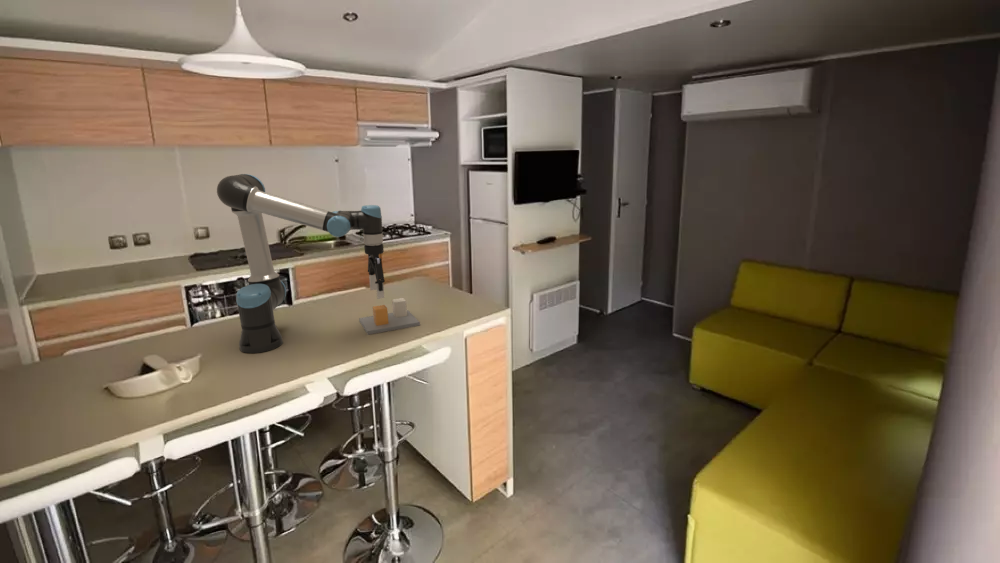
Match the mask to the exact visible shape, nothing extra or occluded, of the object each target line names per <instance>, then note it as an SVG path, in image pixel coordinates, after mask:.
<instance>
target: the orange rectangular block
mask: <svg viewBox="0 0 1000 563" xmlns="http://www.w3.org/2000/svg"><path fill="white" fill-rule="evenodd" d="M372 314H373V315H372V316H374V323H375V324H376V326H378V325H384V324H389V323H388V307H387V306H386V305H385V304H381V305H375V306H372Z"/></svg>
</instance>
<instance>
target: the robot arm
mask: <svg viewBox="0 0 1000 563" xmlns="http://www.w3.org/2000/svg"><path fill="white" fill-rule="evenodd" d="M216 193H217V198H218V199H219V200H220V202H221V203H222V204H224V205H225V206H227V207H229V208H230V209H231V212H232V213H233V214H234V215H236V217H237V220H238V225H239V228H240V232H241V233H240V234H241V236H242V241H243V246H244V250H245V254H246V258H247V263H248V268H249V272H250V276H249V278H248V279H247V282H248V285H246V286H243V287H241V288H239V289H238V290H237V292H236V295H235V297H236V299H235V300H236V305H237V310H238V315H239V320H240V322H239V323H240V326H241V332H240V333H241V334H240V337H239V344H238V346H239V350H240V352H242V353H245V354H246V353H247V354H258V353H265V352H268V351H272V350H274V349H277V348H279V347H280V346H281V345H283V344H284V341H283V336H282V333H281V332H280V330H279V329H278V327H277V325H276V322H275V321H276V320H275V314H274V310H276V309H277V307H279V306H280V305H281V304H282V303H283V301H284V300H285V298H286V296H287V288H286V284H285V283H284V282H283V281H282V280H281V277H280V274H279V273H277V271H275V267H274V264H273V260H272V254H271V250H270V245H269V239H268V236H267V232H266V227H265V222H264V217H263V214H264V215H268V216H272V217H274V218H278V219H283V220H285V221H288V222H293V223H295V224H299V225H302V226H306V227H310V228H313V229H316V230H320V231H324V232H326V233H329V234H330V235H331V236H333V237H334V238H335V237H336V238H340V237H344V236H345V235H347V234H348V233H349V232H350V231H351V230H352V231H354V230H356V231H357V230H359V231H360V230H361V231H363V233H362V237H363V244H364V246H363V247H364V253H365V254H366V255H367V259H368V260H367V273H368V276H369V277H368V279H369V290H370V291H376V299H378V300H379V299H385V287H384V283H385V281H386V280H385V275H384V270H383V263H382V258H381V257H380V255H382V254H383V253H384V250H385V248H384V244H383V242H384V238H385V235H384V234H383V217H382V211H381V206H380V205H376V204H367V205H365V204H364V205H362V206H361V209H360V210H335V211H329V210H325V209H322V208H319V207H316V206H312V205H309V204H305V203H302V202H299V201H296V200H292V199H289V198H286V197H283V196H280V195H275V194H273V193H269V192H266V187H265V185H264V183H263V182H262V180H260V179H259V178H258V177H256V176H255V175H252V174H248V173H241V174H236V175H235V174H234V175H227V176H225V177H223V178H222V179H221V180H220V181H219V182H218V184H217V187H216Z"/></svg>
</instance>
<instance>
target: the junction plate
mask: <svg viewBox="0 0 1000 563" xmlns="http://www.w3.org/2000/svg"><path fill="white" fill-rule="evenodd" d="M391 302H392V304H391V305H392V306H391V307H392V312H389V313H388V323H389V324H384V325H378V326H376V324H375V323H374V316H373V315H370V316H363V317H359V318H358V322H359V323H360V324H361V326H362V329H363V330H364V331H365V333H366V334H367V335H373V334H379V333H385V332H390V331H394V330H395V331H396V330H402V329H408V328H412V327H414V328H415V327H418V326H421V324H420V323H421V322H420V321H419V320H418V319H417V318H416V317H415V315H414V314H412V312H410V310H408V308H407V300H406V299H405V298H404V297H400V298H393V299H391Z"/></svg>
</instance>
